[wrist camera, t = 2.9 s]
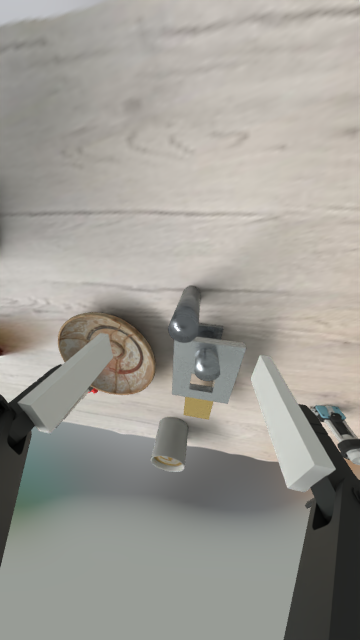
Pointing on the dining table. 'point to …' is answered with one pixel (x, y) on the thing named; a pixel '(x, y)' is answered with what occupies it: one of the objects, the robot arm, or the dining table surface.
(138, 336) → the ceramic bowl
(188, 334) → the pin
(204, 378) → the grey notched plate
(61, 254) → the dining table surface
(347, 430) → the push button
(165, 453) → the coffee mug
